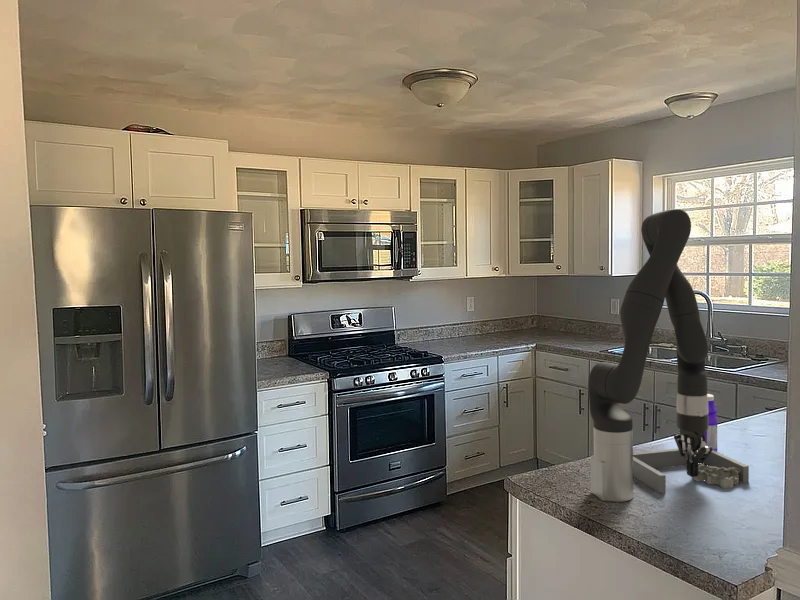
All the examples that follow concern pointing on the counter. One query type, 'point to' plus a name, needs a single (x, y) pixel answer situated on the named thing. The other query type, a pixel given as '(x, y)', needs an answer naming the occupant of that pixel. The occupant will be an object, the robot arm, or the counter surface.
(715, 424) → the bottle
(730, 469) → the egg carton
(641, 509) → the counter surface
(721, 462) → the box
